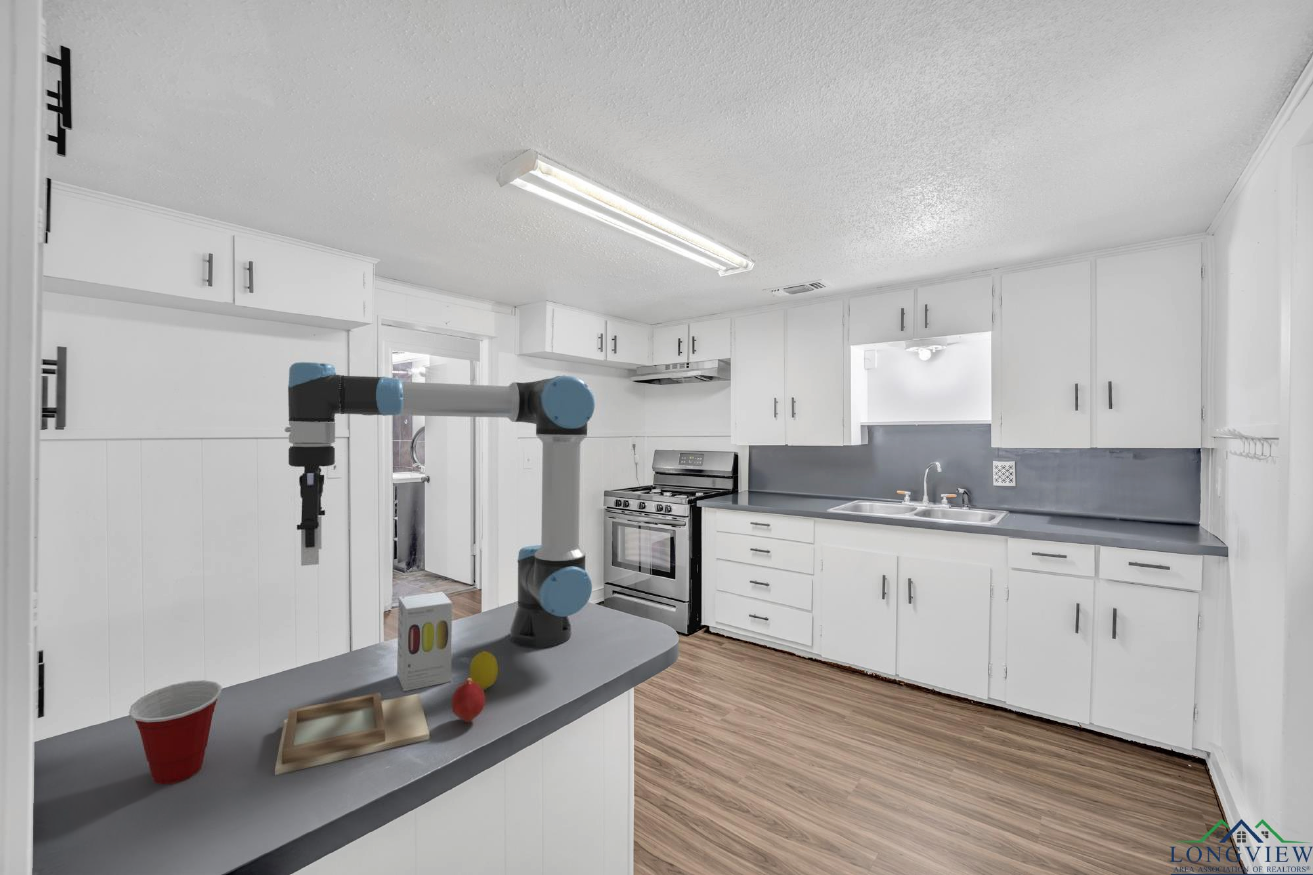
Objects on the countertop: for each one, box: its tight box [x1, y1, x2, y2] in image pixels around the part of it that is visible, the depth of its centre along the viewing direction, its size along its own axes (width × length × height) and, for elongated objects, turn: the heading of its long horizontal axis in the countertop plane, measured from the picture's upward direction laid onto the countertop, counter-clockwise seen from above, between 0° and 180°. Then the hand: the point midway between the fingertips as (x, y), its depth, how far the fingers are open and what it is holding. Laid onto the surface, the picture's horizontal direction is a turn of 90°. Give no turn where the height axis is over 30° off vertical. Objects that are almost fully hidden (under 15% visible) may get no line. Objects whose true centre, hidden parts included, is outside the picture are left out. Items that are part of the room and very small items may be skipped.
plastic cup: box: [128, 679, 222, 785], centre depth 87 cm, size 11×11×12 cm
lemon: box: [468, 650, 499, 691], centre depth 116 cm, size 6×6×8 cm
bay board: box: [274, 692, 430, 776], centre depth 100 cm, size 22×16×3 cm
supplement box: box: [396, 591, 453, 692], centre depth 121 cm, size 10×9×17 cm
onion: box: [451, 677, 486, 723], centre depth 104 cm, size 6×6×8 cm
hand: (311, 556), depth 109 cm, fingers open, 13 cm apart
